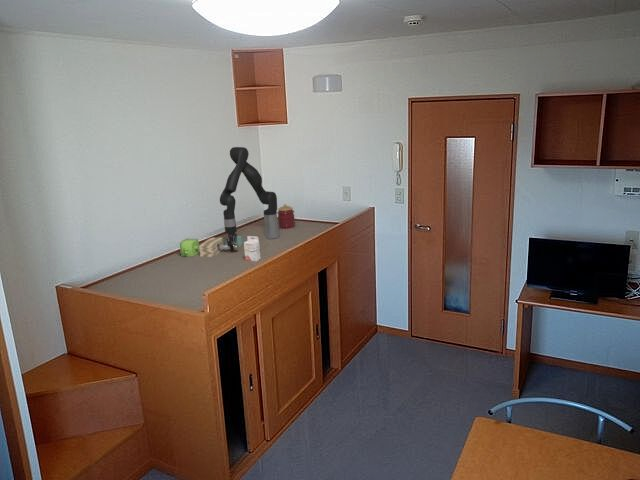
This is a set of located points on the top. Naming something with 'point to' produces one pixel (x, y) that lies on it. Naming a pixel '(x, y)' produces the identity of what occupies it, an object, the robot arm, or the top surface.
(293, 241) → the top surface
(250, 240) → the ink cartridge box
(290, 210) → the canister
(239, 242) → the v block
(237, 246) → the axle
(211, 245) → the beam
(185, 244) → the green cube pot
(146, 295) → the top surface
